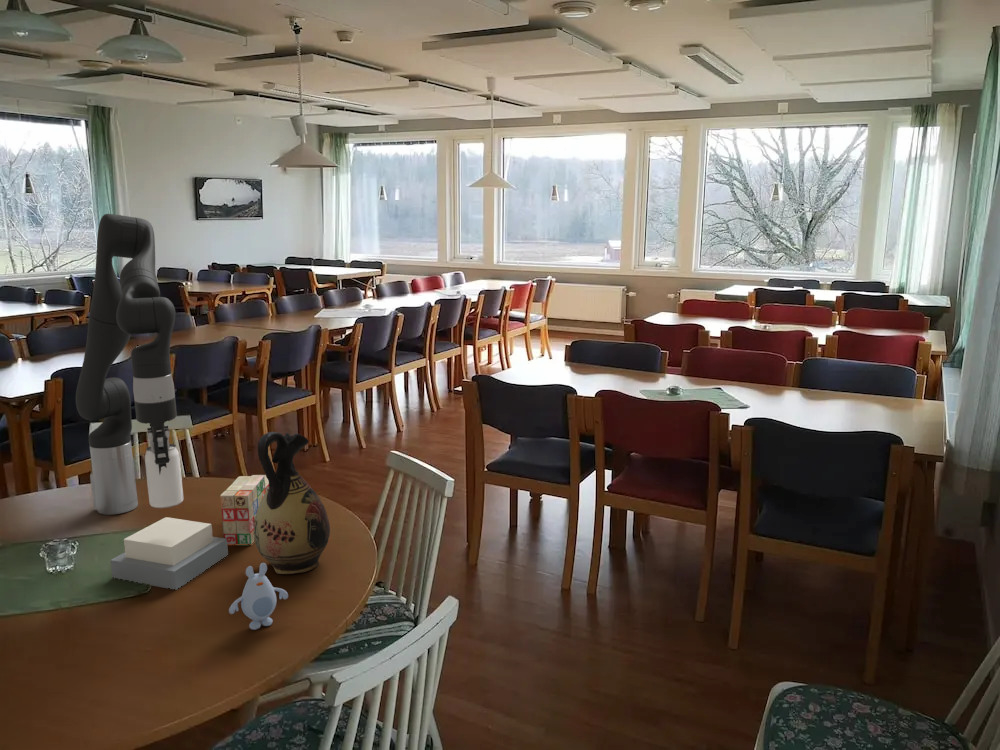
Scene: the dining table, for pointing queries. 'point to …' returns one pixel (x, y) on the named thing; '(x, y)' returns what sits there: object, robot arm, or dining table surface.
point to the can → (164, 479)
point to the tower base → (169, 571)
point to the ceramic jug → (289, 510)
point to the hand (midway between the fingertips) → (162, 476)
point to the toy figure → (258, 598)
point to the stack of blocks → (242, 508)
